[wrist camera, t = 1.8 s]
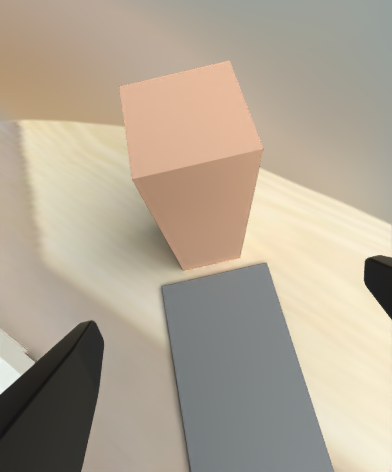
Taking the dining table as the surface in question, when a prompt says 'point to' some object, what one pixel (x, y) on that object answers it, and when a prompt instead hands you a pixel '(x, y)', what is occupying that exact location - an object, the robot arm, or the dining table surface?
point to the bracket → (12, 361)
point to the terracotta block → (194, 159)
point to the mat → (240, 377)
